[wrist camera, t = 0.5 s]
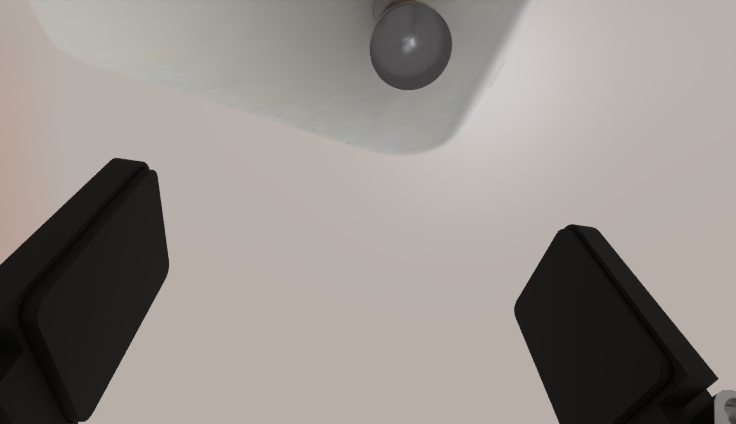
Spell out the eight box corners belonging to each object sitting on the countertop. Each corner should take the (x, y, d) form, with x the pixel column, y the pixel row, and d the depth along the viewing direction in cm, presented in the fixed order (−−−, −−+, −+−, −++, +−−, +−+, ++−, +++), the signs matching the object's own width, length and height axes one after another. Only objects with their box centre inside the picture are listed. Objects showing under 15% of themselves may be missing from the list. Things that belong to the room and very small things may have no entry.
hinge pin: (407, -36, 26) (431, -14, 18) (432, 20, 28) (464, 64, 20) (355, -2, 27) (355, 34, 19) (383, 50, 29) (393, 103, 21)
